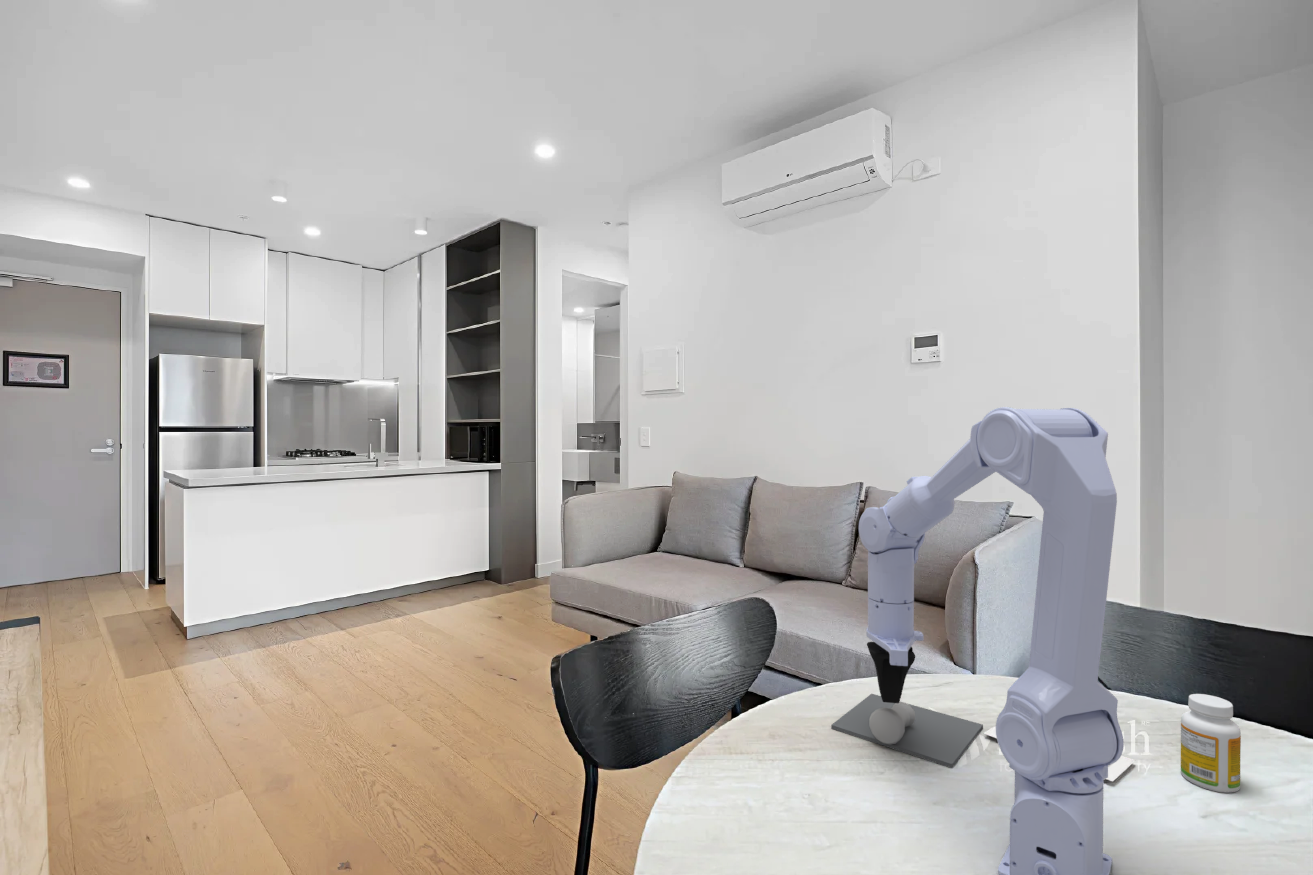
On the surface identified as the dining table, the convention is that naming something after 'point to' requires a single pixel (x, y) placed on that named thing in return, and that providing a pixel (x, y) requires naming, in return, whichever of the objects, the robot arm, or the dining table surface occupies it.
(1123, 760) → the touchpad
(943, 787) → the dining table surface
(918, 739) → the mat
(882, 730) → the rook chess piece
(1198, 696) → the supplement bottle
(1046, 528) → the robot arm
